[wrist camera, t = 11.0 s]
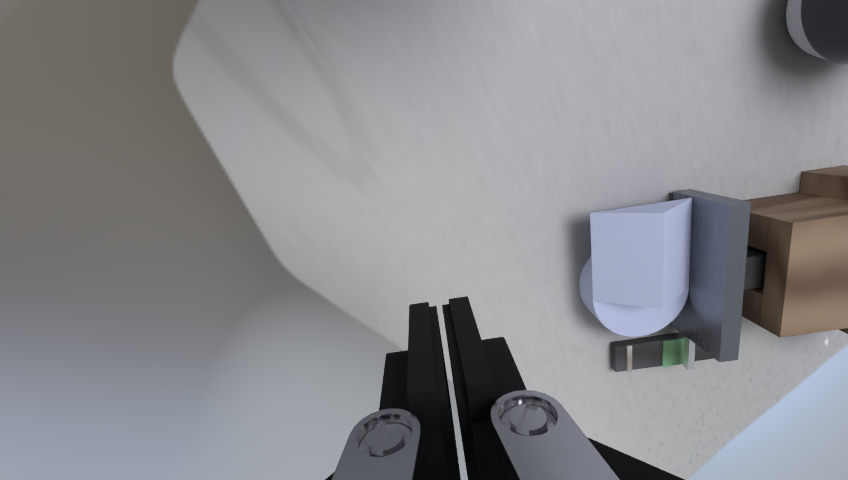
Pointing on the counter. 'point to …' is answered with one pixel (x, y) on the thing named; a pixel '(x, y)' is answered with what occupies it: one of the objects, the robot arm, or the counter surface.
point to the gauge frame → (780, 270)
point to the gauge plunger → (717, 275)
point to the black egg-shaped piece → (820, 27)
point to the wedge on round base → (638, 266)
